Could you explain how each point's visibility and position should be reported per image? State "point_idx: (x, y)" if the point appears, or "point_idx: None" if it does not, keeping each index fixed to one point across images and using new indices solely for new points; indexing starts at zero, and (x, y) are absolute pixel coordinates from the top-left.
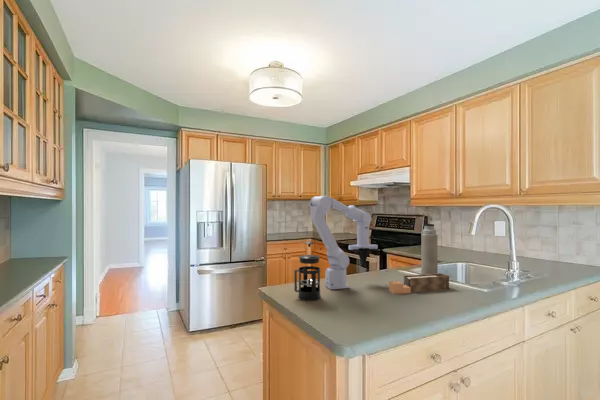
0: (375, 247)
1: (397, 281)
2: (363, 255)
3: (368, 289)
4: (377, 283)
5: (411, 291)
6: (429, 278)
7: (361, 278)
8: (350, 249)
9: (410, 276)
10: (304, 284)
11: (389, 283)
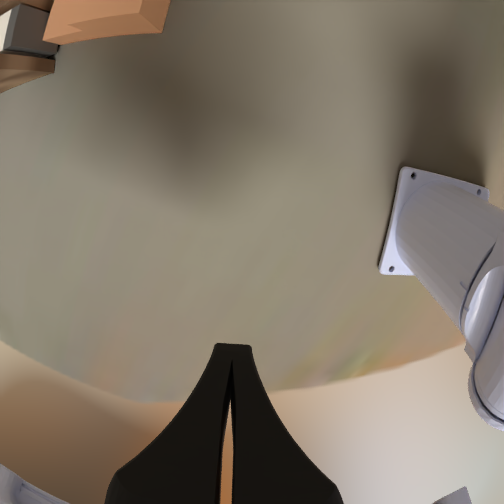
0: (10, 489)
1: (78, 15)
2: (254, 438)
3: (290, 93)
4: (144, 219)
5: None
6: None
7: (197, 344)
8: (465, 490)
9: None
10: None
11: (145, 8)
